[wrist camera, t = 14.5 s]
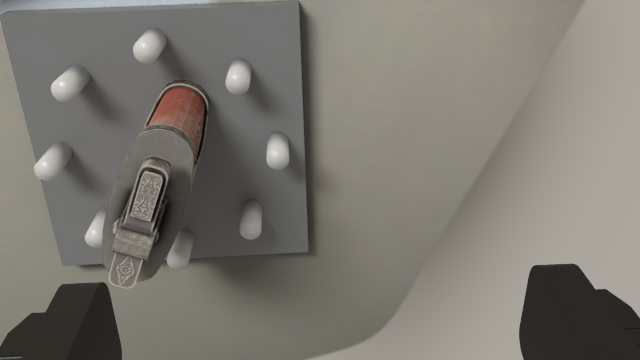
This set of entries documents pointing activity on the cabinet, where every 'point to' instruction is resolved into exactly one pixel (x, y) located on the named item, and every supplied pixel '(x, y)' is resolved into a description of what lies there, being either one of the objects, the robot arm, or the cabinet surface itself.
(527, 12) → the cabinet surface
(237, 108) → the pin tray
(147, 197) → the lighter
